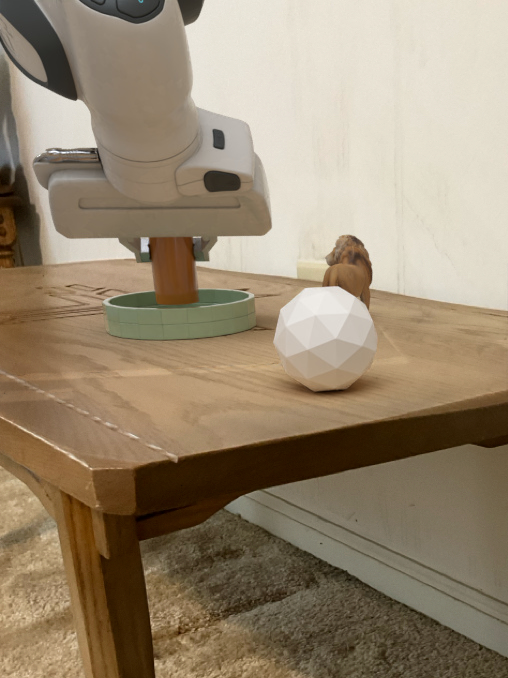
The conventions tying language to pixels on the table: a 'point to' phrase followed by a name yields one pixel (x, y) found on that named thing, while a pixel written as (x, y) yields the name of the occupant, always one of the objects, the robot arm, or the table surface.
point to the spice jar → (174, 270)
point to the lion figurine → (350, 268)
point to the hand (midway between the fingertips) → (174, 257)
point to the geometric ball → (325, 338)
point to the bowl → (179, 315)
